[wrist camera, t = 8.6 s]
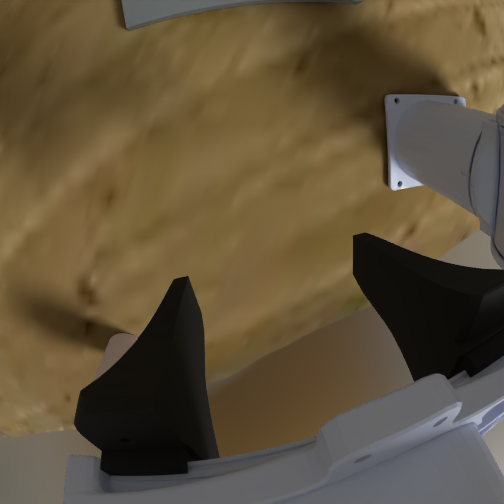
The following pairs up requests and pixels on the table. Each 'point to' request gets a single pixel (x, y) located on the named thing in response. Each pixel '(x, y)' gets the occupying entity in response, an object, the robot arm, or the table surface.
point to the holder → (188, 8)
